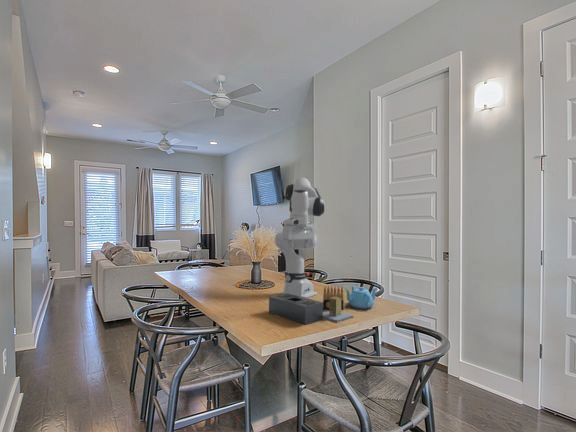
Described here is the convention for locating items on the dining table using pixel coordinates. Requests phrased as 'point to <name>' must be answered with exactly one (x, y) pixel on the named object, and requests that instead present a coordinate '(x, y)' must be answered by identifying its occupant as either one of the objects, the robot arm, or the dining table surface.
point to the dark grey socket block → (296, 308)
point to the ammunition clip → (326, 301)
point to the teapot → (361, 297)
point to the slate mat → (336, 319)
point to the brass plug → (335, 306)
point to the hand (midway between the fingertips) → (299, 248)
